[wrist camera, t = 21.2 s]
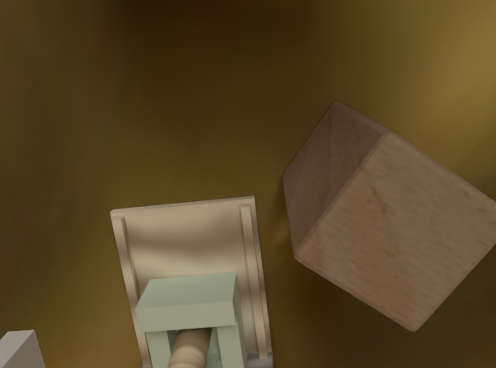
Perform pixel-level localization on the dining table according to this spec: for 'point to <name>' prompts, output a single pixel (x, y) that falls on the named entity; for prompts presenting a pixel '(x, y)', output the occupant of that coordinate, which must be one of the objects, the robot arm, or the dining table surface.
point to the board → (197, 258)
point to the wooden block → (383, 217)
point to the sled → (194, 317)
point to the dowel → (191, 348)
